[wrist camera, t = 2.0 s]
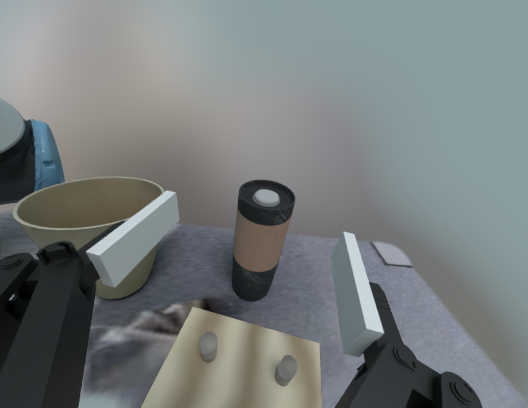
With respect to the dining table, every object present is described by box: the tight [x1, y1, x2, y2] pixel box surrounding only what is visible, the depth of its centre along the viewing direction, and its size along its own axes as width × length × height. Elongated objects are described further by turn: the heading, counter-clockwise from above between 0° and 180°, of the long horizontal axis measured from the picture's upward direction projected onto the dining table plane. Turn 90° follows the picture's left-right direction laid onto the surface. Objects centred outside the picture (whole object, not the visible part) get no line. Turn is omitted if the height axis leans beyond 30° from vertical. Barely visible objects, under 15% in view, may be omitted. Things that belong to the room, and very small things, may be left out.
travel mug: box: [232, 180, 295, 301], centre depth 30 cm, size 8×8×20 cm
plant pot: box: [12, 177, 164, 299], centre depth 29 cm, size 15×15×16 cm
